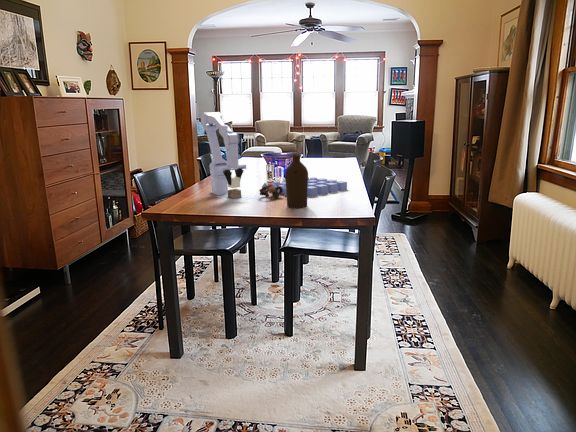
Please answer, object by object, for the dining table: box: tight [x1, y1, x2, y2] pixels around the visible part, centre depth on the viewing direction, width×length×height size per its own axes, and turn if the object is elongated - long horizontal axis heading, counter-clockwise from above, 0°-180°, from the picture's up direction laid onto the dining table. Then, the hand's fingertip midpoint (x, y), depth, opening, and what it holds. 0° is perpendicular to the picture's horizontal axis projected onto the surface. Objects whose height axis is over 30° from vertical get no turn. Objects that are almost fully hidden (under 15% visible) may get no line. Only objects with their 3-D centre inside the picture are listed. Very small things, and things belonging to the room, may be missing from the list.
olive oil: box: [284, 152, 309, 209], centre depth 207 cm, size 11×11×25 cm
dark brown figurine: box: [259, 184, 283, 201], centre depth 228 cm, size 12×10×8 cm
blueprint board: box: [216, 194, 254, 203], centre depth 231 cm, size 18×12×1 cm, turn 37°
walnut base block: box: [227, 188, 242, 199], centre depth 231 cm, size 5×5×4 cm
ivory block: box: [228, 175, 241, 189], centre depth 229 cm, size 4×4×5 cm
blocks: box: [261, 176, 348, 198], centre depth 249 cm, size 35×34×5 cm
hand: (233, 184), depth 229 cm, fingers closed on ivory block, 4 cm apart
